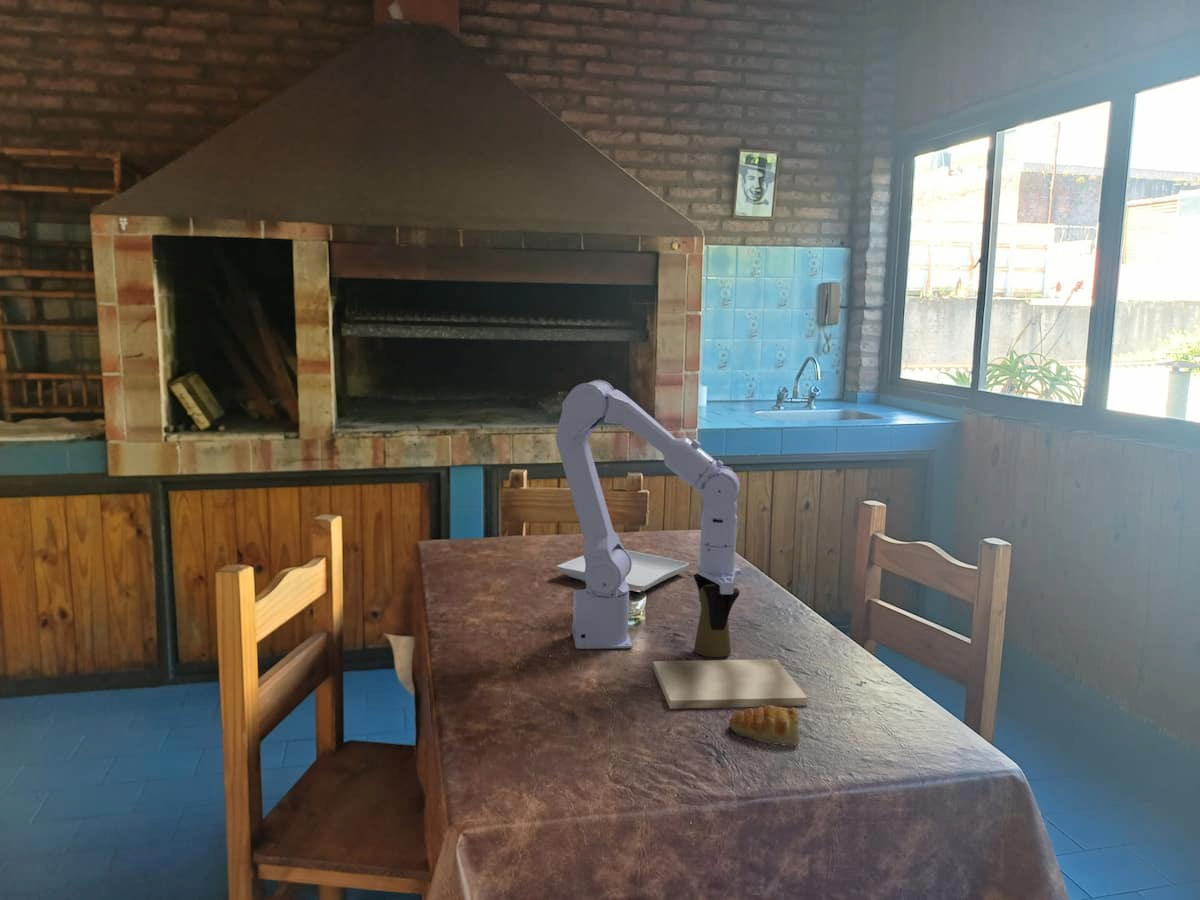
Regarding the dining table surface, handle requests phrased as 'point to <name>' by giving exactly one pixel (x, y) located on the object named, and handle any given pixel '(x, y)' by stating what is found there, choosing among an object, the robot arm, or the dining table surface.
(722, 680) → the birch board
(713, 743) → the dining table surface
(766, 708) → the pastry
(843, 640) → the dining table surface
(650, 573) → the salad plate
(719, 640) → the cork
